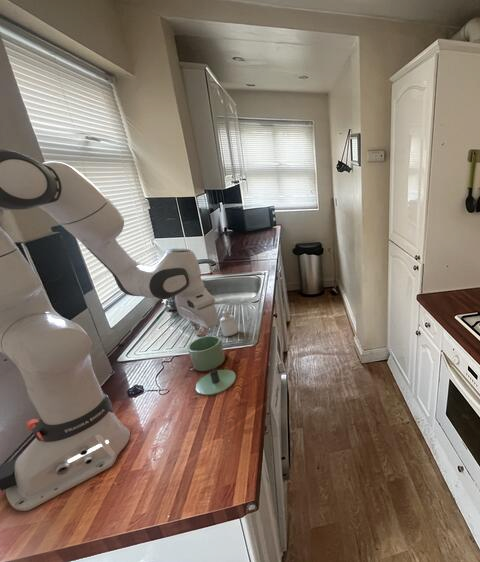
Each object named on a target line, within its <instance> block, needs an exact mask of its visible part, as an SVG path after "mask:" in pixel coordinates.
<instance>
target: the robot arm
mask: <svg viewBox="0 0 480 562" xmlns="http://www.w3.org/2000/svg"><path fill="white" fill-rule="evenodd" d="M34 208H39V209H40V210H42V211H44V212H46V213H47V214H48V215H49V216H50V217H51V218H52V219H54V221H55V222H56V223H58V224H59V225H60V226H61V227H62V228H64V230H66V231H67V232H68V233H70V234H71V235H72V236H73V237H74V238H76V239H77V240H78V241H79V242H80V243H81V244H82V245H83V246H84V247H85V248H86V249H87V250H88V251H89V252H90V254H92V256H93V257H95V258H96V259H97V260H98V261H99V262H100V263H101V264H102V265H103V266H104V267H105V268H106V269H107V270H108V271H109V272H110V273H111V275H112V276H113V279H114V281H115V283H116V285H117V287H118V288H119V290H120V291H121V292H122V293H123V294H125V295H127V296H130V297H144V298H148V299H156V300H169V299H172V298H173V297H174V302H175V306H176V311H177V314H178V315H179V316H181V317H183V318H185V319H187V321H188V322H189V324H190V325H191V328H192V330H195V331H197V330H199V329H202V330H201V331H202V334H204V335H206V336H208V335H209V334H210V332H209V331H210V329H212V328H214V327H216V326H217V325H218V324H219V316H218V312H217V308H216V305H215V302H216V300H215V296H213V295H212V294H211V293H210V292H209V290H207V288H206V287H205V284H204V281H203V280H202V277H201V276H202V270H201V268H200V264H199V261H198V259H197V256H196V255H195V253H194V251H193V250H191V249H189V248H170V249H167V250H165V251H164V255H163V256H162V257H161V259H160V260H159V261H157V262H156V263H155V264H154V265H150V264H149V265H148V264H144V263H142V262H138V261H136V260H135V259H133V257H131V255H129V254H128V252H127V251H126V250H125V249H124V247H122V246H121V244H119V242H118V241H117V238H118V237H119V236H120V235H121V233H122V232H123V230H124V226H125V219H124V216H122V214H121V212H120V211H119V209H118V208H117V207H116V205H115V204H114V203H113V202H112V201H111V200H110V199H109V198H108V197H107V195H105V194H104V193H103V192H102V191H101V190H100V189H99V188H98V187H97V186H96V185H95V184H93V183H92V182H91V180H89V179H88V178H87V177H85V175H83V174H82V173H81V172H79V171H78V170H77V169H76V168H74V167H73V166H71V165H69V164H67V163H64V162H60V161H46V162H40V161H38V160H36V159H35V158H32V157H31V156H28V155H26V154H23V153H20V152H18V151H14V150H10V149H5V148H0V353H1V354H2V355H4V356H6V357H7V358H8V359H9V360H11V361H12V362H13V364H14V365H16V367H17V369H18V370H19V372H20V374H21V376H22V378H23V381H24V384H25V387H26V390H27V397H28V399H29V400H30V401H31V404H32V405H33V407H34V408H35V411H36V413H37V414H38V416H39V417H40V419H37V418H32V419H29V420H28V421H27V422H26V424H25V427H26V428H27V430H28V431H32V433H33V435H34V437H35V438H34V439H33V440H31V442H30V443H29V445H28V446H26V448H25V449H24V450H23V451H22V452H21V453H20V454H19V455H18V456H17V457H15V458H13V459H11V460H8V461H5V462H4V463H3V462H2V463H1V464H0V491H1V492H3V491H5V496H6V499H7V501H8V503H9V505H10V506H11V507H12V508H13V509H15V511H16V510H17V511H20V512H27V511H31V510H33V509H35V508H36V507H38V506H40V505H41V504H44V503H45V502H48V501H49V500H51V499H53V498H55V497H57V496H59V495H61V494H62V493H64V492H66V491H68V490H70V489H72V488H74V487H75V486H77V485H79V484H81V483H83V482H85V481H87V480H89V479H90V478H92V477H95V476H96V475H98V474H100V473H102V472H104V471H106V470H107V469H109V468H111V467H113V465H114V464H115V463H116V460H117V458H118V456H119V454H120V453H121V451H122V450H123V449H125V447H126V446H127V444H128V442H129V440H130V438H131V431H130V429H129V428H128V427H127V426H126V425H124V424H123V423H122V422H121V420H120V419H119V418H118V416H116V414H115V412H114V408H113V404H112V402H111V399H110V397H109V396H108V394H107V393H106V392H105V391H104V390H102V387H101V384H100V382H99V381H98V378H97V376H96V373H95V371H94V368H93V364H92V357H91V350H92V339H91V338H90V336H89V334H88V333H87V331H85V330H84V328H83V327H82V326H80V324H78V323H76V322H74V321H72V320H69V319H68V318H65V317H63V316H62V315H61V314H59V313H58V312H57V311H56V310H55V309H54V308H53V306H52V305H51V303H50V300H49V299H48V297H47V295H46V292H45V290H44V288H43V282H42V280H41V279H40V277H39V276H38V274H37V273H36V271H35V270H34V269H33V267H32V265H31V264H30V262H28V260H27V258H26V257H25V255H23V253H22V251H21V250H20V249H19V247H18V246H17V244H16V243H15V242H14V240H13V239H12V238H11V236H9V234H8V233H7V230H6V228H5V224H4V219H3V218H4V211H13V210H14V211H15V210H18V211H19V210H30V209H34ZM207 334H208V335H207Z"/></svg>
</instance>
